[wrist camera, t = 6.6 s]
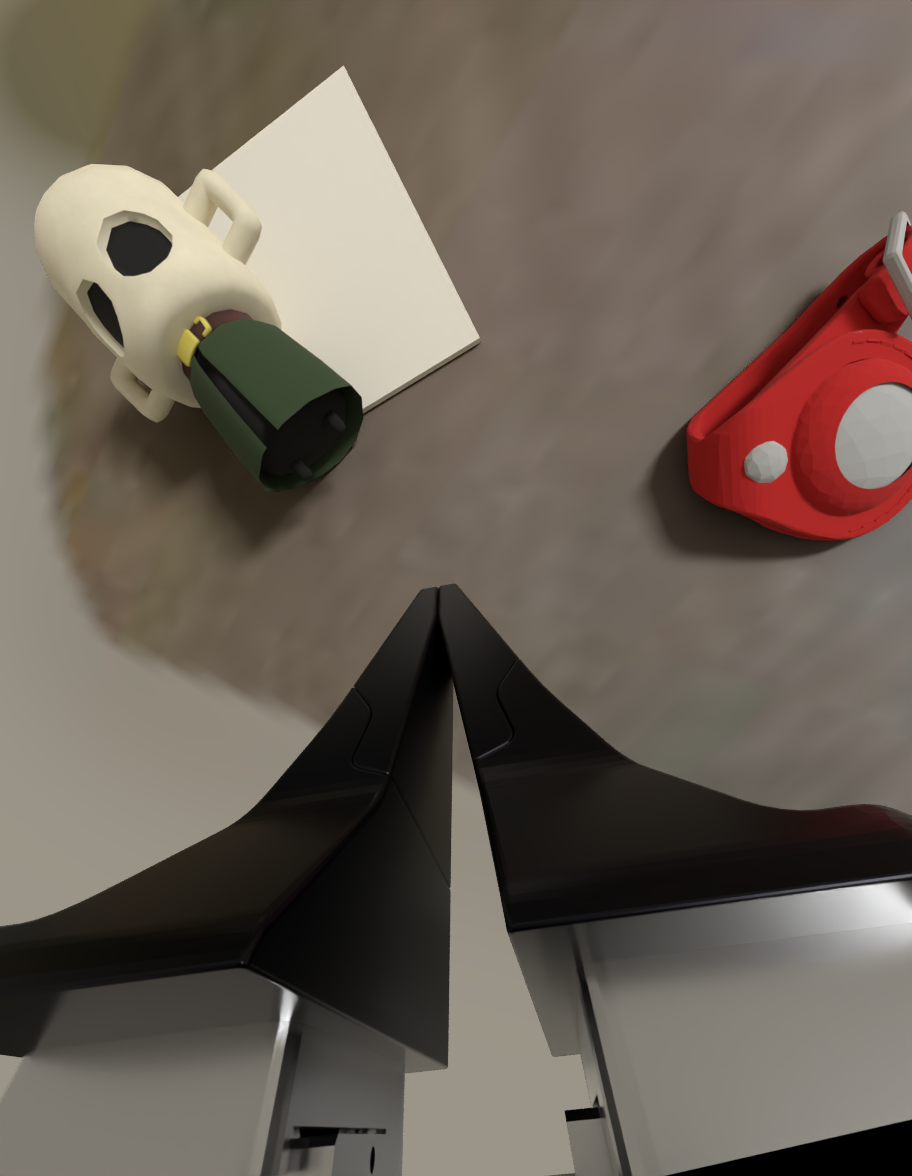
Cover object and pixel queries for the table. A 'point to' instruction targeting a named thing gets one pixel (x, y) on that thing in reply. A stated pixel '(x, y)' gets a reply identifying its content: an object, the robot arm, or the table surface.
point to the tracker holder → (821, 410)
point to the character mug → (193, 317)
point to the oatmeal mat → (345, 246)
